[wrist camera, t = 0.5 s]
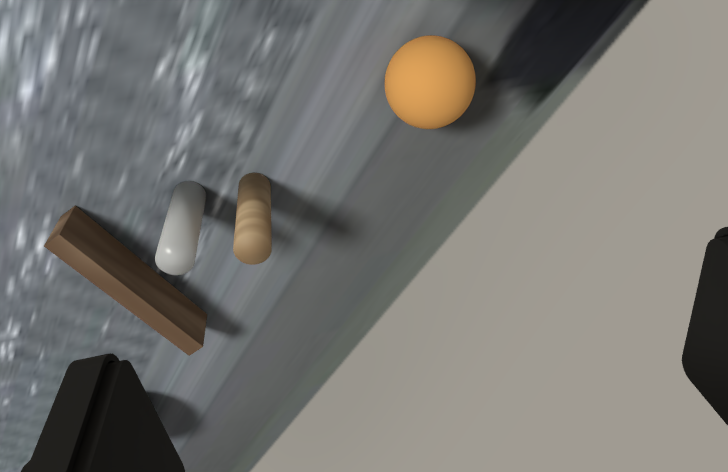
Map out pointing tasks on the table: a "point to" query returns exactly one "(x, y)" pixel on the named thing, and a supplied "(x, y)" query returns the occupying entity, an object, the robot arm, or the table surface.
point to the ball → (430, 82)
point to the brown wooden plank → (127, 279)
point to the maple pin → (253, 219)
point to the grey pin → (181, 229)
